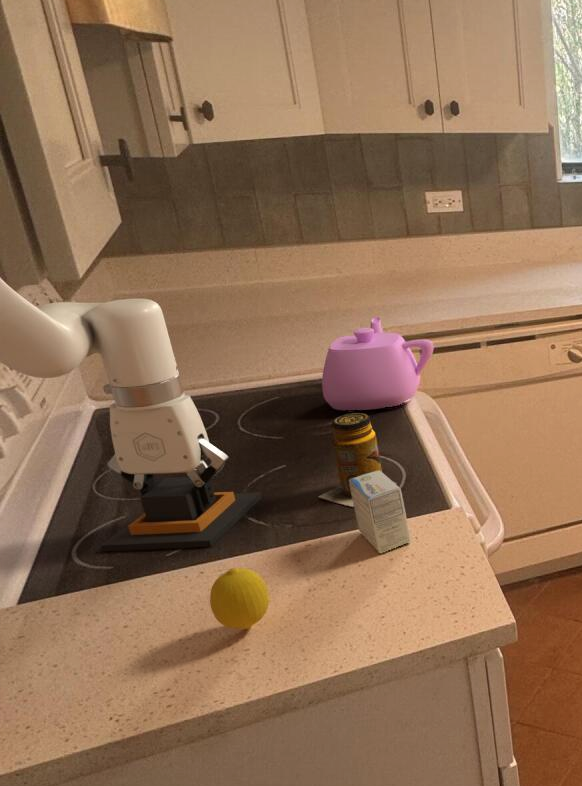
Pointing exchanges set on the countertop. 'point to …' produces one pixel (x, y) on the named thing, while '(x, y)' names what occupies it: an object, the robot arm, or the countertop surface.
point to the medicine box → (379, 511)
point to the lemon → (239, 598)
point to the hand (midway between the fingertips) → (182, 507)
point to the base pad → (184, 526)
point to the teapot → (372, 369)
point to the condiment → (352, 453)
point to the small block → (171, 501)
